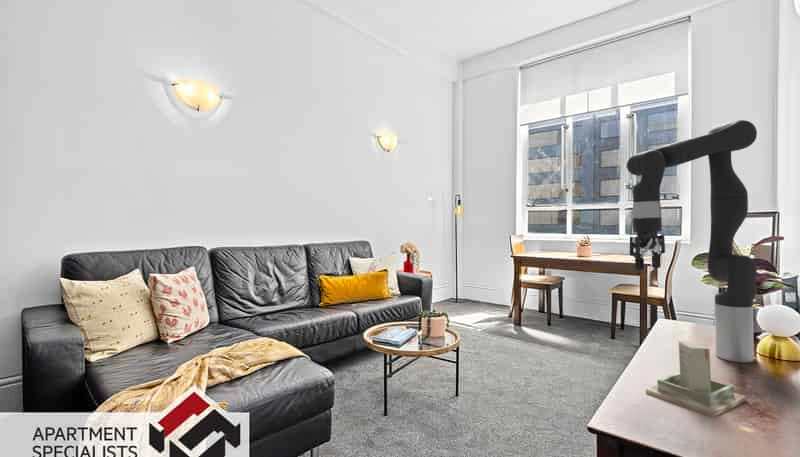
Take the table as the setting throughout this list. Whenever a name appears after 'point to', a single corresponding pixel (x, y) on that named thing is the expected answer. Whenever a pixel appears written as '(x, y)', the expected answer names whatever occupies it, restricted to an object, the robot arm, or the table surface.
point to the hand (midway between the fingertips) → (648, 268)
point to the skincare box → (695, 367)
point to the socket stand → (697, 396)
